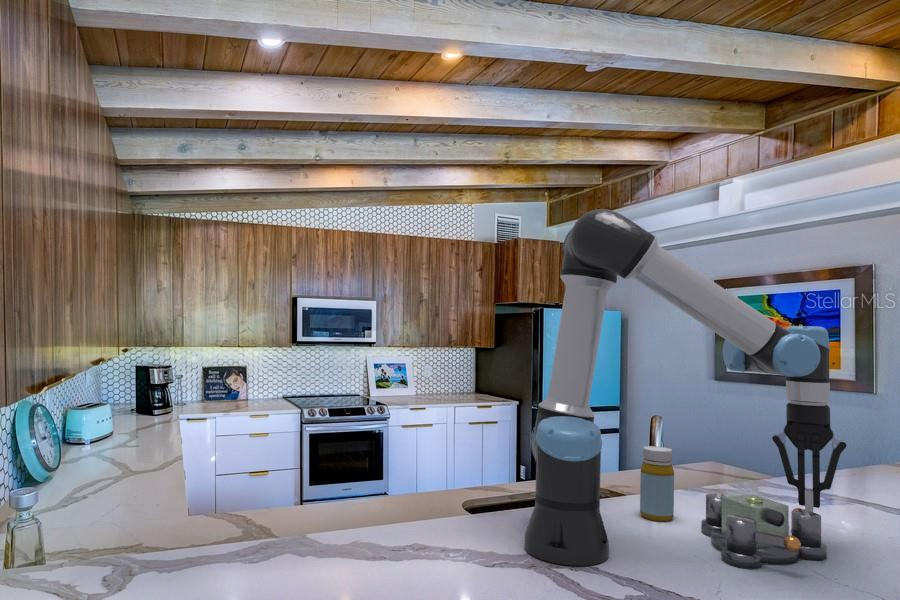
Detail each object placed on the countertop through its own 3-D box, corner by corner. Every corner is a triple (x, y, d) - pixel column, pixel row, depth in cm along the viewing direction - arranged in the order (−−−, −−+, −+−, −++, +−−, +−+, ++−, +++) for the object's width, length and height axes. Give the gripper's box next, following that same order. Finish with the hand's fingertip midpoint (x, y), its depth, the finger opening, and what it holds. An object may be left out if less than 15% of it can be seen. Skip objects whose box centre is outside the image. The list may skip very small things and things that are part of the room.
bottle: (676, 523, 126) (676, 452, 127) (641, 520, 127) (643, 450, 128) (670, 514, 133) (671, 447, 134) (638, 511, 134) (639, 444, 135)
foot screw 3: (823, 548, 107) (823, 517, 107) (793, 544, 109) (793, 513, 109) (811, 529, 118) (811, 502, 118) (784, 526, 120) (784, 498, 120)
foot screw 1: (731, 528, 117) (731, 500, 117) (705, 524, 119) (705, 496, 119) (731, 513, 128) (731, 487, 128) (707, 509, 130) (707, 484, 130)
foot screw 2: (722, 549, 105) (723, 517, 105) (730, 542, 108) (730, 512, 109) (797, 567, 97) (797, 533, 97) (803, 560, 101) (803, 527, 101)
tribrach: (741, 570, 101) (741, 513, 101) (663, 532, 120) (664, 484, 120) (834, 559, 108) (834, 505, 109) (747, 525, 127) (747, 479, 127)
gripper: (845, 404, 118) (847, 524, 116) (772, 399, 125) (773, 512, 123) (847, 407, 112) (849, 534, 110) (770, 401, 118) (771, 521, 117)
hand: (809, 523), depth 116 cm, fingers closed
